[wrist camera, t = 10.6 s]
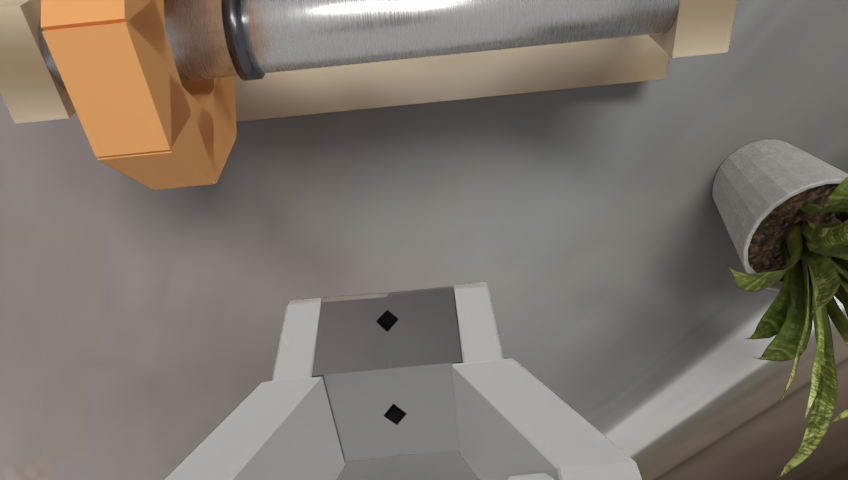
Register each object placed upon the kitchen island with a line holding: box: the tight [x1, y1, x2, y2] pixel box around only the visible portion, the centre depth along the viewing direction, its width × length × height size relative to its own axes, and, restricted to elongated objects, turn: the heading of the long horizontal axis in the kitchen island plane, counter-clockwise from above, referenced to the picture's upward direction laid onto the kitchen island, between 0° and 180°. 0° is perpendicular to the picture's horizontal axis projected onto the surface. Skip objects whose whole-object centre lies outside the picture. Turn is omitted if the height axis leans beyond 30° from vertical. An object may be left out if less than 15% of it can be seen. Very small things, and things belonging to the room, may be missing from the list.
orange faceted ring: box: [41, 0, 237, 190], centre depth 23 cm, size 10×2×10 cm, turn 5°
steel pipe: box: [38, 0, 680, 91], centre depth 23 cm, size 3×26×3 cm, turn 95°
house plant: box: [712, 139, 848, 479], centre depth 31 cm, size 14×14×16 cm
